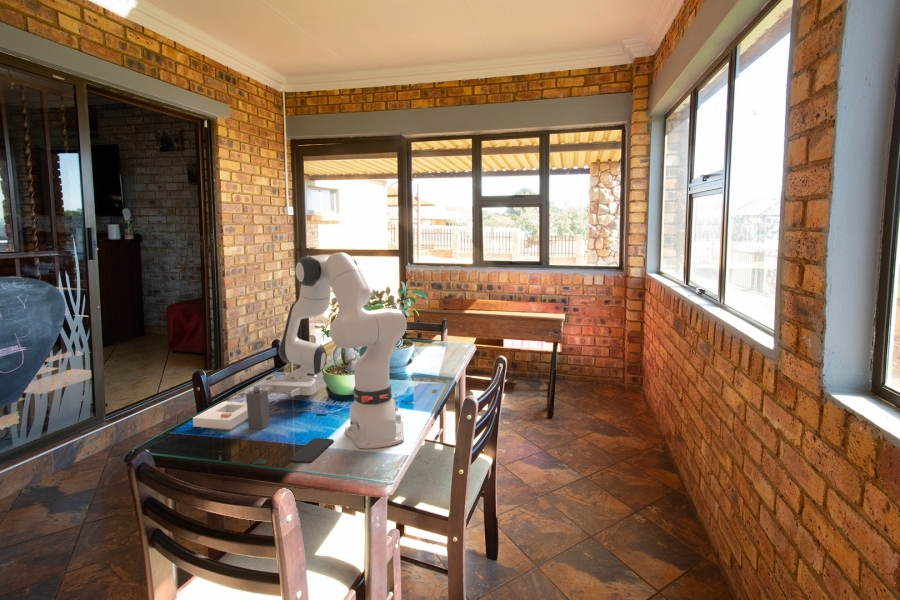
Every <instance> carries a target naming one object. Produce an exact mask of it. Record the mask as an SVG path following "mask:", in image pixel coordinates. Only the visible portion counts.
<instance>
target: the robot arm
mask: <svg viewBox="0 0 900 600" xmlns="http://www.w3.org/2000/svg"><path fill="white" fill-rule="evenodd" d="M295 276H296V280H297V281H298V282H299V284H300V289H299V298H298V299H297V301H295V302H293V303H292V305H291V306H290V309H289V311H288V315H287V319H286V323H285V327H284V331H283V336H282V339H281V342H280V345H279V347H278V355H279V357H280V359H281V360H282V361H283V362H285V363H291V364H295V365H298V366H300V367H299V368H295V370H293V371H291V372H289V373H287V375H286V377H285V378H271V379H268V380H266V381H263V382H261V385H260V387H261V388H260V390H267V392H268V396H270V395H271V394H278V395H279V394H280V395H287V396H288V397H290V398H292V397H295V396H311V395H312V396H313V395H314V394H316V393H317V392H319V382H320V381H321V380H322V379H323V377H324V375H323V373H322V370H323V369H324V368H326V364H327V361H328V360H327V359H328V353H327V350H326V349H325V347H324V346H323V345H322V344H318V343H315V342H311V341H307V340H303V339H301V338H299V337H298V333H299V327H300V323H301V320H303V319H309V318H315V317H319V316H321V315H322V314H324V313H325V312H327V310H328V309H329V306H330V301H331V290H332V291H333V294H334V296H335V299H336V301H337V303H338V304H337V305H338V313H337V315H336V316H335V318H334V319H333V320H332V322H331V323H330V324H331V325H330V328H329V335H330V338H331V340H332V342H333V343H334V345H336V346H337V347H338V348H341V349H358V348H361V347H363V346H368V347H367V349H366V351H365V353H364V354H363V355H362V356H361V357H360V356H359V357H358V359H357V360H355V363H354V366H353V375H354V387H353V399H354V401H353V402H352V403H351V404H350V406H349V422H350V425H349V426H347V427H345V428H344V433H346V435H347V436H348V438H349V439H350V440H351V441H352V442H353V443H354V444H355V445H356V447H358V449H379V448H385V447H390V446H394V445H398V444H401V443H403V442H404V441H405V439H404V436H405V435H404V423H403V420H402V416H401V415H402V414H400V413H397V412H399V406H396V399H394V398H393V394H392V393H393V391H392V386H391V384H390V363H391V359H392V354H393V351H394V349H395V347H396V345H397V344H398V342H399V341H400V339H401V338H402V337H403V336H404V335H405V333H406V331H407V326H408V324H407V323H408V321H407V319H406V316H405V314H404V313H403V311H401V310H400V309H398V308H397V309H396V308H391V307H390V308H389V307H385V308H384V307H383V308H378V309H377V308H376V309H371V310H366V309H365V308H364V307H365V306H366V305H367V304H368V303H369V301H370V299H371V290H370V287H369V285H368V283H367V281H366V279H365V278H364V275H363V273H362V272H361V269H360V268H359V267H358V263H357V261H356V259H355V258H354V257H353V256H352V255H349V254H347V253H346V252H341V251H340V252H334V253H332V254H317V255H313V256H310V255H307V256H304V257H301V258H299V259H298V260H297V262H296V264H295ZM396 413H397V414H396Z"/></svg>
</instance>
